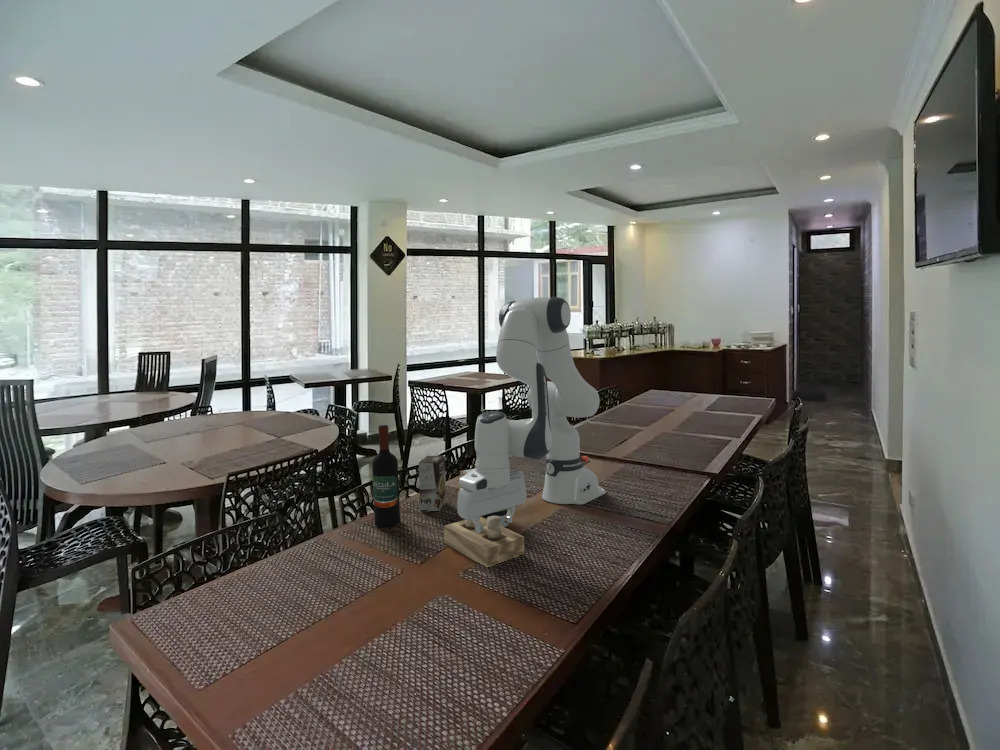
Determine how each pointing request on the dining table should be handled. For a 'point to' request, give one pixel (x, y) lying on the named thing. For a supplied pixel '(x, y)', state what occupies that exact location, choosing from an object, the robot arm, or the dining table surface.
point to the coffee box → (432, 483)
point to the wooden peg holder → (483, 542)
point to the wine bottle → (385, 484)
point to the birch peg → (494, 528)
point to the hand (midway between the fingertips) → (494, 527)
